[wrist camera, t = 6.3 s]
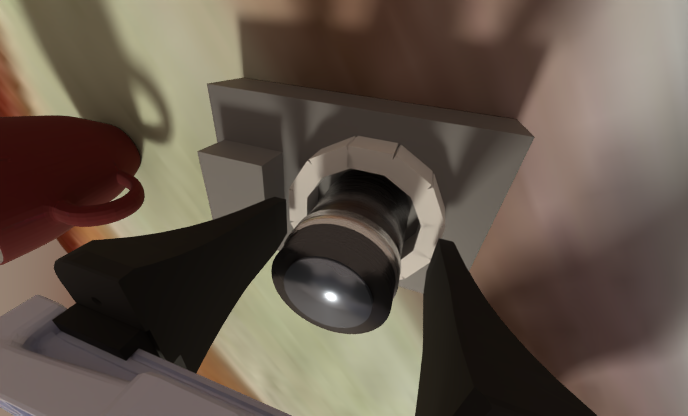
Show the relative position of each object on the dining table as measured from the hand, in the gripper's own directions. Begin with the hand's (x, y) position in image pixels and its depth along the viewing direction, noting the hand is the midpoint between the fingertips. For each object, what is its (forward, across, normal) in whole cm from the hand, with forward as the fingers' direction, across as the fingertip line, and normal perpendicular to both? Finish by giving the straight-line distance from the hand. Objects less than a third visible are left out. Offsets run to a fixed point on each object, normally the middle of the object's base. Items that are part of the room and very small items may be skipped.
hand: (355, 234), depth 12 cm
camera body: (+5, +2, 0) cm, 6 cm away
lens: (+2, 0, 0) cm, 2 cm away
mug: (+6, +20, +2) cm, 21 cm away
